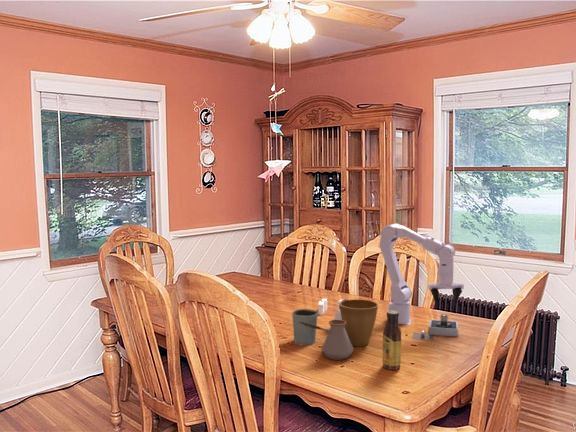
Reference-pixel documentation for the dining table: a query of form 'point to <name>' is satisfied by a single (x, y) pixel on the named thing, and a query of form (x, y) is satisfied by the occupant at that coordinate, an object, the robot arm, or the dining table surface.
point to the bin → (443, 331)
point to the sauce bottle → (392, 342)
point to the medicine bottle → (338, 313)
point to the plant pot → (359, 320)
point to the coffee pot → (335, 340)
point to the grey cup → (304, 333)
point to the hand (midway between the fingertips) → (445, 305)
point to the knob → (444, 322)
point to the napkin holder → (322, 306)
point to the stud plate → (422, 336)
